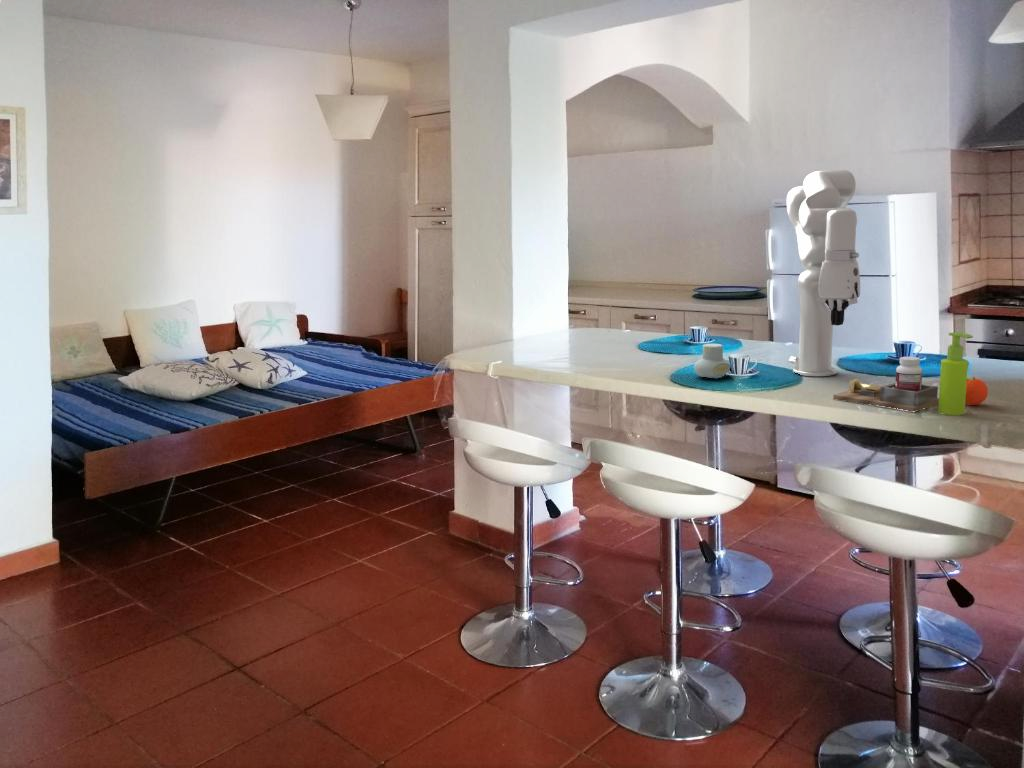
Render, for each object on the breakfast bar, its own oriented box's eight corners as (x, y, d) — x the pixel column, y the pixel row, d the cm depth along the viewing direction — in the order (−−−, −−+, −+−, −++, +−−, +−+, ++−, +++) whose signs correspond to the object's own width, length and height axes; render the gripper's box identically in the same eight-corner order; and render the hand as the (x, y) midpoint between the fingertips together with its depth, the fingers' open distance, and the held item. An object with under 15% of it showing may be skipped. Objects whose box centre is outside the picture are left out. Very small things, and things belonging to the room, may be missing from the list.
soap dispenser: (956, 417, 218) (961, 335, 214) (932, 411, 224) (937, 332, 220) (973, 414, 220) (979, 333, 216) (949, 408, 227) (954, 330, 222)
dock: (833, 399, 241) (834, 382, 240) (861, 390, 249) (862, 374, 248) (913, 412, 224) (914, 394, 223) (940, 403, 233) (941, 385, 232)
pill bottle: (899, 396, 236) (901, 355, 234) (924, 399, 232) (926, 357, 230) (890, 400, 232) (893, 358, 229) (915, 404, 228) (918, 361, 225)
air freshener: (707, 381, 268) (707, 348, 266) (689, 377, 275) (689, 345, 273) (735, 377, 273) (736, 344, 271) (717, 373, 280) (717, 341, 278)
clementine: (953, 407, 228) (955, 379, 227) (950, 401, 234) (952, 374, 233) (988, 408, 225) (990, 380, 224) (985, 402, 232) (987, 375, 230)
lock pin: (849, 391, 243) (849, 380, 242) (855, 389, 245) (855, 378, 244) (881, 396, 236) (882, 385, 235) (887, 394, 238) (887, 383, 237)
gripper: (873, 256, 237) (870, 325, 241) (822, 254, 248) (820, 320, 252) (858, 258, 232) (855, 328, 236) (807, 256, 244) (804, 323, 248)
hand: (837, 324), depth 244 cm, fingers closed
